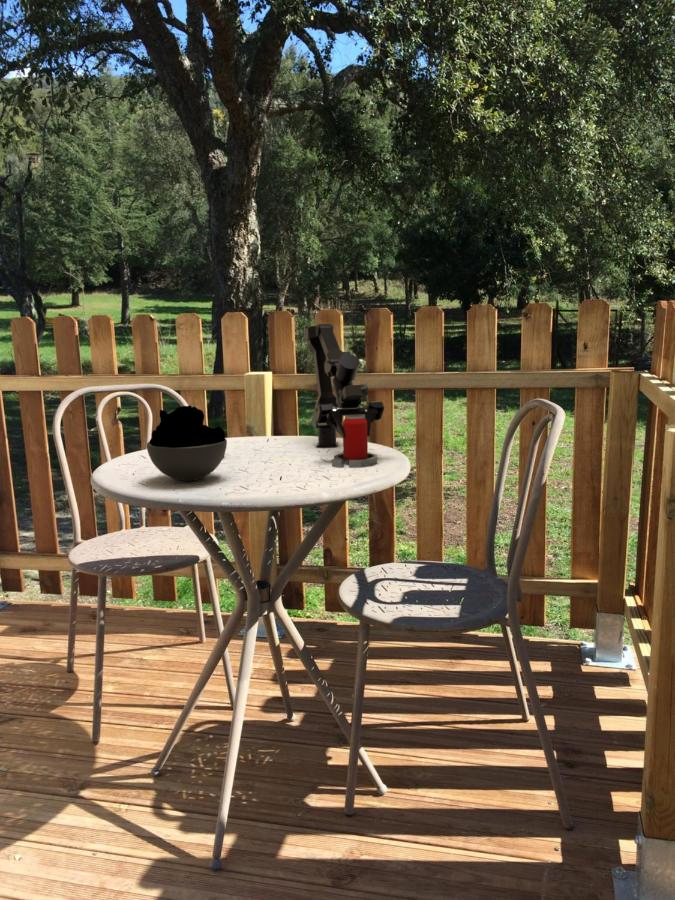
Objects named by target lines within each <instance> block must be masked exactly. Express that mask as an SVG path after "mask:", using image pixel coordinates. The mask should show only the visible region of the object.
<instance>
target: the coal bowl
mask: <svg viewBox="0 0 675 900" xmlns="http://www.w3.org/2000/svg"><path fill="white" fill-rule="evenodd" d="M159 418H160V422H159V423H158V425H157V426H156V427H155V429H154V430H152V432H151V438H150V440H149V441H148V442H147V443H146V450H147V453H148V456H149V459H150V460H151V462H152V464H153V465H154V467H155V468H157V470H159V472H161V473H162V474H163V475H165V476H167V477H169V478H171V479H174V480H176V481H183V482H189V481H191V482H192V481H197V480H201V479H202V478H203V479H204V478H205V477H206V476H208V475H210V474H212V472H214V471H215V470H216V469H217V468H218V467H219V466H220V464H221V462H222V461H223V459H224V458H225V455H226V454H225V453H226V451H227V446H228V441H227V438H226V435H225V431H224V429H222V427H220V426H216V427H210V426H209V425H207V424H204V421H205V414H204V411H203V410H202V409H200V408H198V407H196V406H192V405H182V406H178V407H177V408H175V409H174V410H172V411H171V412H169V413H168V412H167V411H166V410H162V409H159ZM223 457H224V458H223Z"/></svg>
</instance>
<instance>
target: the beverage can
mask: <svg viewBox="0 0 675 900" xmlns="http://www.w3.org/2000/svg"><path fill="white" fill-rule="evenodd" d="M344 417H345V418H344V419H343V420H342V425H343V428H344V432H345V438H343V437H342V447H343V448H342V449H343V452H342V453H343V454H344V457H345V458H346V459H347V461H349V460H355V459H365V458H366V457H367V456H368V453H369V452H368V446H369V445H368V436H367V421H366V419H365V416H364V415H348V416H344Z"/></svg>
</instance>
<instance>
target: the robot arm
mask: <svg viewBox="0 0 675 900" xmlns="http://www.w3.org/2000/svg"><path fill="white" fill-rule="evenodd" d="M303 335H304V336H303V337H304V341H306V347H307V348H308V349H309V351H310V352H311V353H312V356H313V362H314V370H315V376H316V378H315V379H316V386H317V393H318V399H317V400H316V403H315V405H314V410H313V414H312V418H311V419H312V420H311V423H312V425H311V426H312V427H313V428H314V429H317V434H318V435H317V436H318V437H317V439H318V440H317V441H318V442H317V444H316V448H331V447H333V448H335V447H336V448H337V447H338V445H339V442H337V433H338V434H339V435H340V436H341V438H342V439H343V438H345V432H344V428H343V417H345V416H348V415H363V416H365V419H366V421H367V437H370V433H371V425H372V423H374V421H379V420H381V419H382V416H383V413H384V411H385V405H384V402H382V401H381V400H378V401H377V400H376V401H368V403H367V406H365V407H360V405H361V404H362V398H363V397H367V396H368V394H369V387H368V385H367V383H360V384H354V383H353V382H354V380H356V377H357V373H358V371H359V367H360V364H361V362H360V359H359V358H358V357H357V356H356V355H354V354H353V353H352V354H351V351H342V349H341V348H340V344H339V342H338V340H337V338H336V335H335V332H334V325H333V324H331V323H318V324H316V325H309V326H307V327H306V328H305V329H304V333H303ZM333 391H334V393H333Z"/></svg>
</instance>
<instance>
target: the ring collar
mask: <svg viewBox="0 0 675 900" xmlns="http://www.w3.org/2000/svg"><path fill="white" fill-rule="evenodd" d="M347 461H348V465H349V466H348V467H349V468H366V467H367V468H368V467H372V466H376V465H378V454H376V453H372V452H368V456H367V457H366V458H365V459H355V460H347V459H346V458H345V457H344V454H343V452H342V453H341V452H340V453H338V454H335V455H334V456H333V458H331V467H334V468H341V469H342V468H344V465H345V464H344V462H347Z"/></svg>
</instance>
